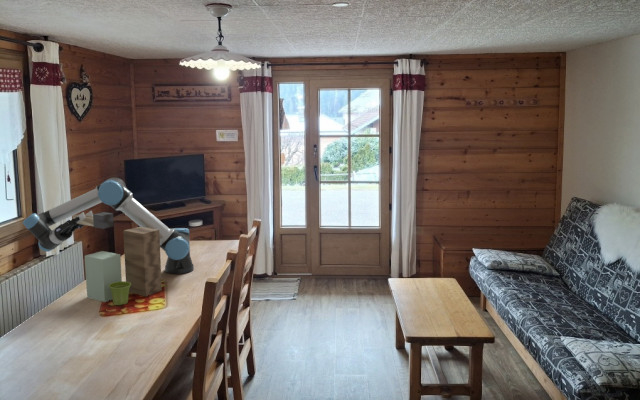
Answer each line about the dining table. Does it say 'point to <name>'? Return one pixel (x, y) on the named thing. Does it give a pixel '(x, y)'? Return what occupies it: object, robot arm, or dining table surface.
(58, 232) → the robot arm
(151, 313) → the dining table surface
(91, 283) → the pale green block
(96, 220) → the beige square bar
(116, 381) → the dining table surface
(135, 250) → the stand tall
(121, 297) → the plant pot
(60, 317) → the dining table surface
